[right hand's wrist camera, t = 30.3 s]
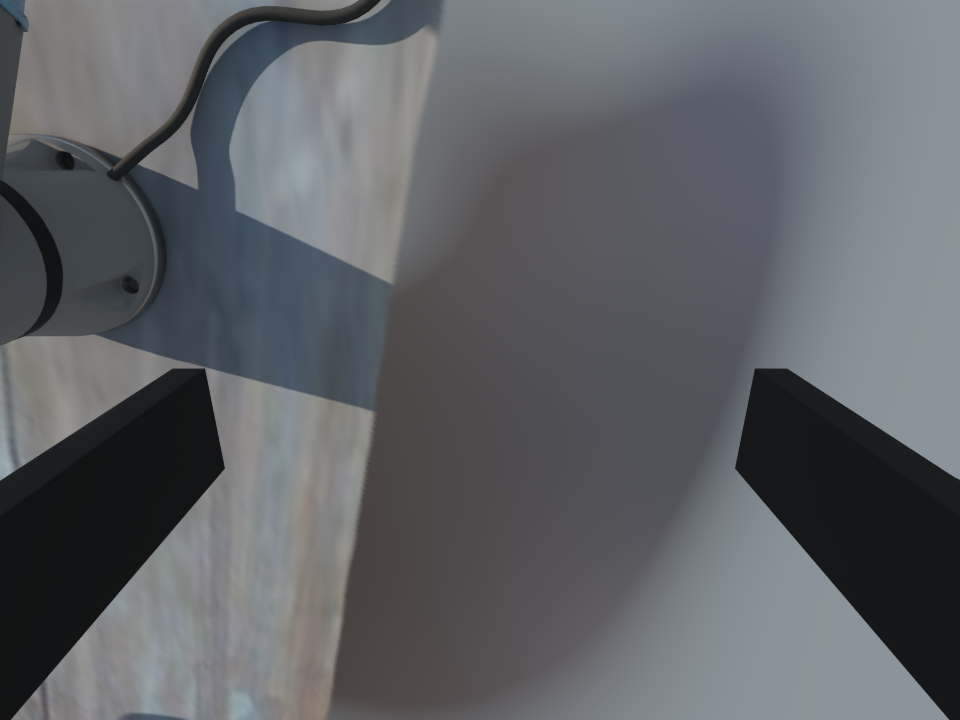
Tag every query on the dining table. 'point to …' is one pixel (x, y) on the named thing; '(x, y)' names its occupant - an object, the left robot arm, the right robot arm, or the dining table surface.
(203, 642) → the dining table surface
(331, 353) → the dining table surface
